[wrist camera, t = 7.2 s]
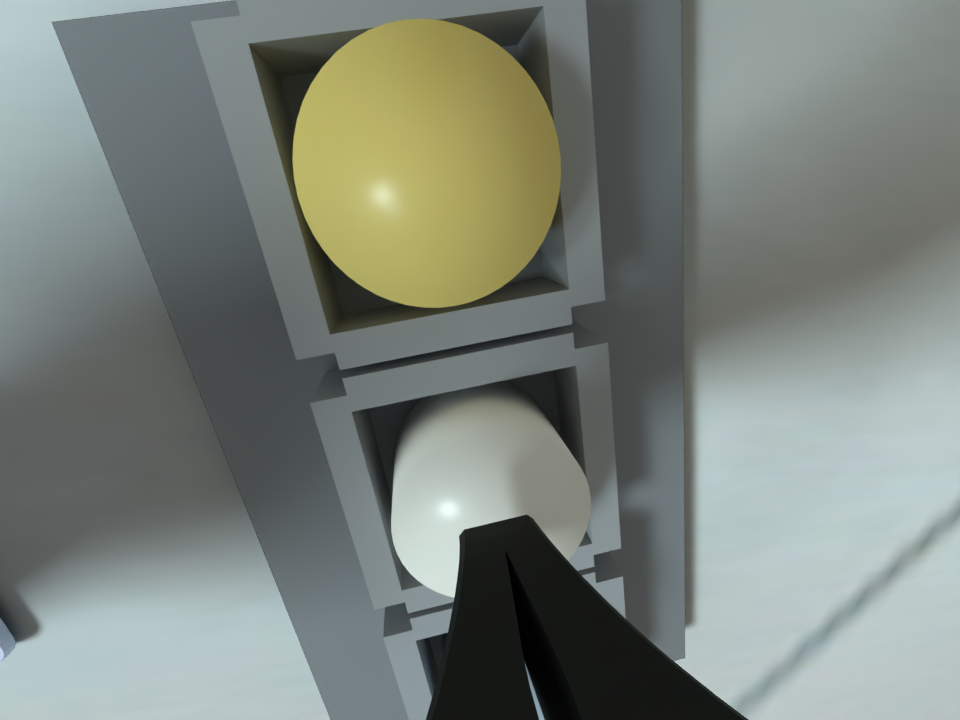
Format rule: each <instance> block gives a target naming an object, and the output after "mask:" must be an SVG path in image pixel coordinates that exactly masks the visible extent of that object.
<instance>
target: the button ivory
mask: <svg viewBox="0 0 960 720" xmlns="http://www.w3.org/2000/svg"><path fill="white" fill-rule="evenodd" d="M590 512H591V496H590V490H589V485H588V482H587V479H586V476H585V475H584V473H583V471H582V469H581V467H580V465H579V464H578V462H577V461H576V460H575V458H574V457H573V455H572V454H571V452H570V451H569V449H568V448H567V446H566V445H565V443H564V442H563V440H562V439H561V438H560V436H559V435H558V433H557V432H556V430H555V429H554V427H553V426H552V424H551V423H550V421H549V420H548V418H547V417H546V416H545V414H544V413H543V411H542V410H541V408H540V407H539V406H538V404H537V403H536V402H535V401H534V400H533V399H532V398H531V397H530V396H529V395H528V394H527V393H525V392H524V391H523V390H521V389H520V388H518V387H516V386H514V385H512V384H510V383H507V382H504V381H499V382H494V383H489V384H484V385H479V386H475V387H470V388H465V389H460V390H455V391H450V392H446V393H441V394H436V395H431V396H426V397H423V398H422V399H421V400H420V401H419V402H418V403H416V404H415V405H414V407H413V408H412V409H411V410H410V412H409V413H408V414H407V416H406V417H405V419H404V421H403V422H402V425H401V427H400V429H399V432H398V435H397V439H396V445H395V456H394V475H393V495H392V515H391V533H392V539H393V544H394V547H395V550H396V552H397V555H398V557H399V558H400V560H401V562H402V564H403V565H404V566H405V568H406V569H407V570H408V572H409V573H410V574H411V575H412V576H413V577H414V578H415V579H417V580H418V581H419V582H420V583H422V584H423V585H425V586H426V587H428V588H430V589H432V590H434V591H436V592H438V593H440V594H443V595H446V596H449V597H453V598H454V597H455V591H456V584H457V576H458V567H459V552H460V543H459V535H460V534H461V533H462V532H463V530H464V529H469V528H473V527H477V526H481V525H485V524H489V523H494V522H498V521H502V520H506V519H510V518H514V517H518V516H523V515H529V516H530V517H532V518H533V519H534V520H535V522H536V523H537V524H538V526H539V527H540V528H541V530H542V531H543V532H544V533H545V535H546V536H547V537H548V538H549V540H550V541H551V542H552V543H553V544H554V546H555V547H556V548H557V549H558V550H559V551H560V552H561V554H562V555H563V556H564V557H565V558H566V559H567V560H569V559H570V558H571V556H572V555H573V554H574V552H575V551H576V550H577V548H578V546H579V545H580V543H581V541H582V539H583V537H584V535H585V532H586V530H587V526H588V523H589V519H590Z"/></svg>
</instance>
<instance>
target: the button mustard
mask: <svg viewBox="0 0 960 720" xmlns="http://www.w3.org/2000/svg"><path fill="white" fill-rule="evenodd" d="M292 160H293V172H294V181H295V186H296V191H297V196H298V200H299V202H300V205H301V208H302V211H303V214H304V217H305V219H306V221H307V223H308V225H309V227H310V229H311V231H312V233H313V235H314V237H315V238H316V240H317V241H318V243H319V244H320V246H321V248H322V249H323V250H324V252H325V253H326V254H327V255H328V256H329V258H330V259H331V260H332V261H333V262H334V264H335V265H336V266H338V267H339V268H340V269H341V270H342V271H343V272H344V273H345V274H346V275H347V276H348V277H350V278H351V279H352V280H354V281H355V282H356V283H358V284H359V285H360V286H362V287H364V288H365V289H367V290H369V291H371V292H373V293H374V294H376V295H378V296H381V297H383V298H386V299H388V300H391V301H393V302H397V303H401V304H405V305H408V306H416V307H423V308H442V307H451V306H457V305H461V304H465V303H469V302H472V301H475V300H477V299H480V298H482V297H485V296H487V295H489V294H491V293H492V292H494V291H496V290H498V289H499V288H501V287H502V286H504V285H505V284H506V283H508V282H509V281H510V280H512V279H513V278H514V277H515V276H516V275H517V274H518V273H519V272H520V271H521V270H522V269H523V268H524V267H525V266H526V265H527V264H528V263H529V261H530V260H531V259H532V258H533V256H534V255H535V254H536V252H537V250H538V249H539V247H540V246H541V244H542V242H543V241H544V239H545V237H546V234H547V232H548V230H549V228H550V226H551V223H552V220H553V217H554V214H555V211H556V207H557V202H558V197H559V192H560V181H561V156H560V149H559V143H558V137H557V133H556V129H555V126H554V122H553V119H552V116H551V114H550V111H549V109H548V107H547V104H546V102H545V100H544V98H543V96H542V95H541V93H540V91H539V89H538V87H537V85H536V84H535V83H534V81H533V80H532V79H531V77H530V76H529V74H528V73H527V72H526V70H525V69H524V68H523V67H522V66H521V65H520V64H519V63H518V62H517V61H516V60H515V59H514V58H513V56H512V55H510V54H509V53H508V52H507V51H505V50H504V49H503V48H502V47H500V46H499V45H498V44H497V43H495V42H494V41H492V40H490V39H489V38H487V37H485V36H484V35H482V34H480V33H478V32H476V31H473V30H471V29H469V28H466V27H464V26H462V25H458V24H454V23H450V22H446V21H441V20H432V19H406V20H400V21H396V22H391V23H386V24H383V25H381V26H378V27H375V28H373V29H370V30H368V31H366V32H364V33H362V34H361V35H359V36H357V37H355V38H354V39H352V40H350V41H349V42H348V43H347V44H345V45H344V46H343V47H342V48H340V49H339V50H338V51H337V52H336V53H335V54H334V55H333V56H332V57H331V58H330V59H329V60H328V61H327V62H326V64H325V65H324V66H323V67H322V68H321V70H320V71H319V73H318V74H317V76H316V77H315V79H314V80H313V82H312V83H311V85H310V87H309V89H308V91H307V93H306V96H305V98H304V100H303V102H302V105H301V108H300V112H299V115H298V118H297V122H296V127H295V133H294V139H293V158H292Z"/></svg>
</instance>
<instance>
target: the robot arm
mask: <svg viewBox="0 0 960 720" xmlns="http://www.w3.org/2000/svg"><path fill="white" fill-rule="evenodd" d="M459 543H460V552H459V567H458V576H457V584H456V591H455V597H454V603H453V608H452V613H451V619H450V624H449V630H448V635H447V639H446V644H445V648H444V652H443V656H442V660H441V664H440V668H439V672H438V676H437V680H436V684H435V688H434V692H433V696H432V700H431V703H430V707H429V710H428V714H427V717H426V720H539V717H538V714H537V710H536V706H535V703H534V699H533V696H532V692H531V689H530V685H529V680H528V675H527V671H526V667H527V670H528V673H529V676H530V679H531V682H532V685H533V688H534V690H535V693H536V696H537V699H538V702H539V705H540V708H541V711H542V714H543V716H544V719H545V720H748V719H747V718H745V717H744V716H743V715H741V714H740V713H739V712H737V711H736V710H735V709H733V708H732V707H731V706H729V705H728V704H727V703H725V702H724V701H723V700H721V699H720V698H719V697H717V696H716V695H715V694H714V693H712V692H711V691H710V690H709V689H707V688H706V687H705V686H704V685H702V684H701V683H700V682H699V681H697V680H696V679H695V678H694V677H692V676H691V675H690V674H689V673H687V672H686V671H685V670H684V669H682V668H681V667H680V666H679V665H678V664H676V663H675V662H674V661H673V660H672V659H670V658H669V657H668V656H667V655H666V654H665V653H663V652H662V651H661V650H660V649H659V648H658V647H657V646H655V645H654V644H653V643H652V642H651V641H650V640H649V639H647V638H646V637H645V636H644V635H643V634H642V633H641V632H640V631H639V630H637V629H636V628H635V627H634V626H633V625H632V624H631V623H630V622H629V621H628V620H626V619H625V618H624V617H623V616H622V615H621V614H620V613H619V612H618V611H617V610H616V609H615V608H614V607H613V606H612V605H611V604H610V603H608V602H607V601H606V600H605V599H604V598H603V597H602V596H601V594H600V593H599V592H598V591H597V590H596V589H595V588H594V587H593V586H592V585H591V584H590V583H589V582H588V581H587V580H586V579H585V578H584V577H583V576H582V575H581V574H580V573H579V572H578V571H577V570H576V569H575V568H574V567H573V566H572V565H571V564H570V562H569V561H568V560H567V559H566V558H565V557H564V556H563V555H562V554H561V552H560V551H559V550H558V549H557V548H556V547H555V546H554V544H553V543H552V542H551V541H550V540H549V538H548V537H547V536H546V535H545V533H544V532H543V531H542V530H541V528H540V527H539V526H538V524H537V523H536V522H535V520H534V519H533V518H532V517H530V516H529V515H523V516H518V517H514V518H510V519H506V520H502V521H498V522H494V523H489V524H485V525H481V526H477V527H473V528H469V529H464V530H463V532H462V533H461V534H460V535H459ZM15 644H16V642H15V640H14V637H13V636H12V634H11V633H10V631H9V630H8V628H7V627H6V625H5V624H4V623H3V621H2V620H1V618H0V662H2V661H3V660H4V659H5V658H6V657H7V656H8V655H9V654H10V653H11V651H12V650H13V649H14V648H15ZM524 661H525V662H524ZM525 664H526V666H525Z"/></svg>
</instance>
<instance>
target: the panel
mask: <svg viewBox="0 0 960 720" xmlns="http://www.w3.org/2000/svg"><path fill="white" fill-rule="evenodd" d="M406 19H432V20H441V21H446V22H450V23H454V24H458V25H462V26H464V27H466V28H469V29H471V30H473V31H476V32H478V33H480V34H482V35H484V36H485V37H487V38H489V39H490V40H492V41H494V42H495V43H497V44H498V45H499V46H500V47H502V48H503V49H504V50H505V51H507V52H508V53H509V54H510V55H512V56H513V58H514V59H515V60H516V61H517V62H518V63H519V64H520V65H521V66H522V67H523V68H524V69H525V70H526V72H527V73H528V74H529V76H530V77H531V79H532V80H533V81H534V83H535V84H536V85H537V87H538V89H539V91H540V93H541V95H542V96H543V98H544V100H545V102H546V104H547V107H548V109H549V111H550V114H551V116H552V119H553V122H554V126H555V129H556V133H557V137H558V143H559V149H560V156H561V181H560V192H559V197H558V202H557V207H556V211H555V214H554V217H553V220H552V223H551V226H550V228H549V230H548V232H547V234H546V237H545V239H544V241H543V242H542V244H541V246H540V247H539V249H538V250H537V252H536V254H535V255H534V256H533V258H532V259H531V260H530V261H529V263H528V264H527V265H526V266H525V267H524V268H523V269H522V270H521V271H520V272H519V273H518V274H517V275H516V276H515V277H514V278H513V279H512V280H510V281H509V282H508V283H506V284H505V285H504V286H502V287H501V288H499V289H498V290H496V291H494V292H492V293H491V294H489V295H487V296H485V297H482V298H480V299H477V300H475V301H472V302H469V303H465V304H461V305H457V306H451V307H442V308H423V307H416V306H408V305H405V304H401V303H397V302H393V301H391V300H388V299H386V298H383V297H381V296H378V295H376V294H374V293H373V292H371V291H369V290H367V289H365V288H364V287H362V286H360V285H359V284H358V283H356V282H355V281H354V280H352V279H351V278H350V277H348V276H347V275H346V274H345V273H344V272H343V271H342V270H341V269H340V268H339V267H338V266H336V265H335V264H334V262H333V261H332V260H331V259H330V258H329V256H328V255H327V254H326V253H325V252H324V250H323V249H322V248H321V246H320V244H319V243H318V241H317V240H316V238H315V237H314V235H313V233H312V231H311V229H310V227H309V225H308V223H307V221H306V219H305V217H304V214H303V211H302V208H301V205H300V202H299V200H298V196H297V191H296V186H295V181H294V172H293V160H292V158H293V139H294V133H295V127H296V122H297V118H298V115H299V112H300V108H301V105H302V102H303V100H304V98H305V96H306V93H307V91H308V89H309V87H310V85H311V83H312V82H313V80H314V79H315V77H316V76H317V74H318V73H319V71H320V70H321V68H322V67H323V66H324V65H325V64H326V62H327V61H328V60H329V59H330V58H331V57H332V56H333V55H334V54H335V53H336V52H337V51H338V50H339V49H340V48H342V47H343V46H344V45H345V44H347V43H348V42H349V41H350V40H352V39H354V38H355V37H357V36H359V35H361V34H362V33H364V32H366V31H368V30H370V29H373V28H375V27H378V26H381V25H383V24H386V23H391V22H396V21H400V20H406ZM52 24H53V26H54V29H55V31H56V34H57V36H58V39H59V41H60V44H61V46H62V49H63V51H64V54H65V56H66V59H67V61H68V64H69V66H70V69H71V71H72V74H73V76H74V79H75V81H76V84H77V87H78V89H79V92H80V94H81V97H82V99H83V102H84V104H85V107H86V109H87V112H88V114H89V117H90V119H91V122H92V124H93V127H94V129H95V132H96V134H97V137H98V139H99V142H100V144H101V147H102V149H103V152H104V154H105V157H106V159H107V162H108V164H109V167H110V169H111V172H112V174H113V177H114V179H115V182H116V184H117V187H118V189H119V192H120V194H121V197H122V199H123V202H124V204H125V207H126V209H127V212H128V214H129V217H130V219H131V222H132V224H133V227H134V229H135V232H136V234H137V237H138V239H139V242H140V244H141V247H142V249H143V252H144V254H145V257H146V259H147V262H148V264H149V267H150V269H151V272H152V274H153V277H154V279H155V282H156V284H157V287H158V289H159V292H160V294H161V297H162V299H163V302H164V304H165V307H166V309H167V312H168V314H169V317H170V319H171V322H172V324H173V327H174V329H175V332H176V334H177V337H178V339H179V342H180V344H181V347H182V349H183V352H184V354H185V357H186V359H187V362H188V364H189V367H190V369H191V372H192V374H193V377H194V379H195V382H196V384H197V387H198V389H199V392H200V394H201V397H202V399H203V402H204V404H205V407H206V409H207V412H208V414H209V417H210V419H211V422H212V424H213V427H214V429H215V432H216V434H217V437H218V439H219V442H220V444H221V447H222V449H223V452H224V454H225V457H226V459H227V462H228V464H229V467H230V469H231V472H232V474H233V477H234V479H235V482H236V484H237V487H238V489H239V492H240V494H241V497H242V499H243V502H244V504H245V507H246V509H247V512H248V514H249V517H250V519H251V522H252V524H253V527H254V529H255V532H256V534H257V537H258V539H259V542H260V544H261V547H262V549H263V552H264V554H265V557H266V559H267V562H268V564H269V567H270V569H271V572H272V574H273V577H274V579H275V582H276V584H277V587H278V589H279V592H280V594H281V597H282V599H283V602H284V604H285V607H286V609H287V612H288V614H289V617H290V619H291V622H292V624H293V627H294V629H295V632H296V634H297V637H298V639H299V642H300V644H301V647H302V649H303V652H304V654H305V657H306V659H307V662H308V664H309V667H310V669H311V672H312V674H313V677H314V679H315V682H316V684H317V687H318V689H319V692H320V694H321V697H322V699H323V702H324V704H325V707H326V709H327V712H328V714H329V717H330V719H331V720H426V717H427V714H428V710H429V707H430V703H431V700H432V696H433V692H434V688H435V684H436V680H437V676H438V672H439V668H440V664H441V660H442V656H443V650H442V635H443V634H444V633H448V630H449V624H450V619H451V613H452V608H453V603H454V598H453V597H449V596H446V595H443V594H440V593H438V592H436V591H434V590H432V589H430V588H428V587H426V586H425V585H423V584H422V583H420V582H419V581H418V580H417V579H415V578H414V577H413V576H412V575H411V574H410V573H409V572H408V570H407V569H406V568H405V566H404V565H403V564H402V562H401V560H400V558H399V557H398V555H397V552H396V550H395V547H394V544H393V539H392V533H391V515H392V495H393V475H394V456H395V445H396V439H397V435H398V432H399V429H400V427H401V425H402V422H403V421H404V419H405V417H406V416H407V414H408V413H409V412H410V410H411V409H412V408H413V407H414V405H415V404H416V403H418V402H419V401H420V400H421V399H422V398H423V397H426V396H431V395H436V394H441V393H446V392H450V391H455V390H460V389H465V388H470V387H475V386H479V385H484V384H489V383H494V382H499V381H504V382H507V383H510V384H512V385H514V386H516V387H518V388H520V389H521V390H523V391H524V392H525V393H527V394H528V395H529V396H530V397H531V398H532V399H533V400H534V401H535V402H536V403H537V404H538V406H539V407H540V408H541V410H542V411H543V413H544V414H545V416H546V417H547V418H548V420H549V421H550V423H551V424H552V426H553V427H554V429H555V430H556V432H557V433H558V435H559V436H560V438H561V439H562V440H563V442H564V443H565V445H566V446H567V448H568V449H569V451H570V452H571V454H572V455H573V457H574V458H575V460H576V461H577V462H578V464H579V465H580V467H581V469H582V471H583V473H584V475H585V476H586V479H587V482H588V485H589V490H590V496H591V512H590V519H589V523H588V526H587V530H586V532H585V535H584V537H583V539H582V541H581V543H580V545H579V546H578V548H577V550H576V551H575V552H574V554H573V555H572V556H571V558H570V559H569V560H568V561H569V562H570V564H571V565H572V566H573V567H574V568H575V569H576V570H577V571H578V572H579V573H580V574H581V575H582V576H583V577H584V578H585V579H586V580H587V581H588V582H589V583H590V584H591V585H592V586H593V587H594V588H595V589H596V590H597V591H598V592H599V593H600V594H601V596H602V597H603V598H604V599H605V600H606V601H607V602H608V603H610V604H611V605H612V606H613V607H614V608H615V609H616V610H617V611H618V612H619V613H620V614H621V615H622V616H623V617H624V618H625V619H626V620H628V621H629V622H630V623H631V624H632V625H633V626H634V627H635V628H636V629H637V630H639V631H640V632H641V633H642V634H643V635H644V636H645V637H646V638H647V639H649V640H650V641H651V642H652V643H653V644H654V645H655V646H657V647H658V648H659V649H660V650H661V651H662V652H663V653H665V654H666V655H667V656H668V657H669V658H670V659H672V660H673V661H676V660H679V659H683V658H685V548H684V364H683V180H682V0H234V1H225V2H217V3H208V4H200V5H191V6H183V7H174V8H166V9H157V10H149V11H140V12H132V13H123V14H115V15H106V16H98V17H89V18H81V19H72V20H64V21H55V22H52Z"/></svg>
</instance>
